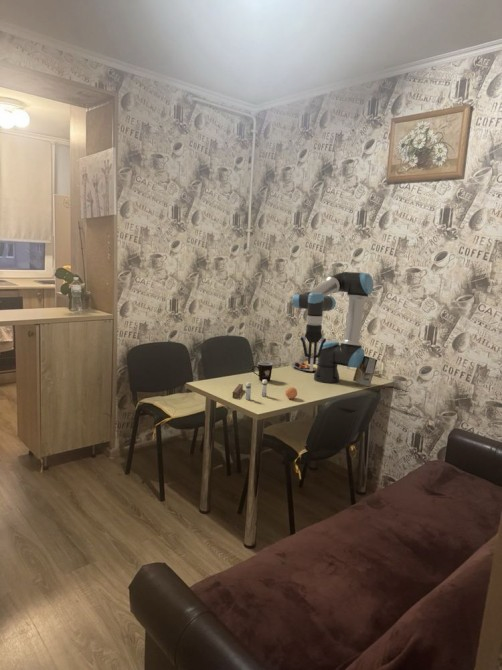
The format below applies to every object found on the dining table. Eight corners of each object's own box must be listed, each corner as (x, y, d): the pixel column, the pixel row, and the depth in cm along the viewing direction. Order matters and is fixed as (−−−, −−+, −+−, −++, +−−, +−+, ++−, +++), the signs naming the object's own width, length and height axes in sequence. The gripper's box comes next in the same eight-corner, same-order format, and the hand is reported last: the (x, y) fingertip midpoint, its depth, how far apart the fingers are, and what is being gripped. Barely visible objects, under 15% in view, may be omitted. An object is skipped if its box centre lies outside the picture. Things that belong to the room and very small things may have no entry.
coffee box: (370, 386, 267) (378, 359, 266) (361, 384, 264) (369, 357, 263) (360, 382, 275) (368, 356, 274) (352, 380, 272) (359, 354, 271)
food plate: (284, 366, 309) (285, 361, 308) (309, 362, 323) (310, 357, 322) (311, 375, 289) (311, 370, 289) (336, 371, 304) (337, 366, 303)
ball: (297, 397, 241) (298, 386, 240) (296, 400, 235) (297, 389, 234) (285, 396, 242) (286, 385, 241) (284, 399, 236) (285, 388, 235)
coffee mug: (272, 378, 275) (273, 362, 274) (271, 382, 267) (272, 365, 265) (252, 377, 276) (253, 361, 275) (251, 381, 268) (252, 364, 266)
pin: (266, 395, 242) (267, 379, 240) (266, 396, 239) (266, 381, 238) (262, 395, 242) (262, 379, 241) (261, 396, 240) (262, 380, 238)
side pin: (250, 398, 235) (251, 382, 234) (249, 400, 233) (250, 383, 231) (246, 398, 235) (246, 382, 234) (245, 399, 233) (245, 383, 232)
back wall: (242, 389, 251) (242, 384, 250) (236, 398, 235) (236, 392, 235) (239, 389, 251) (239, 384, 250) (232, 397, 235) (232, 392, 235)
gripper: (327, 324, 233) (324, 369, 236) (301, 322, 235) (298, 367, 239) (327, 326, 225) (324, 373, 229) (300, 324, 227) (297, 371, 231)
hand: (311, 370), depth 234 cm, fingers closed
